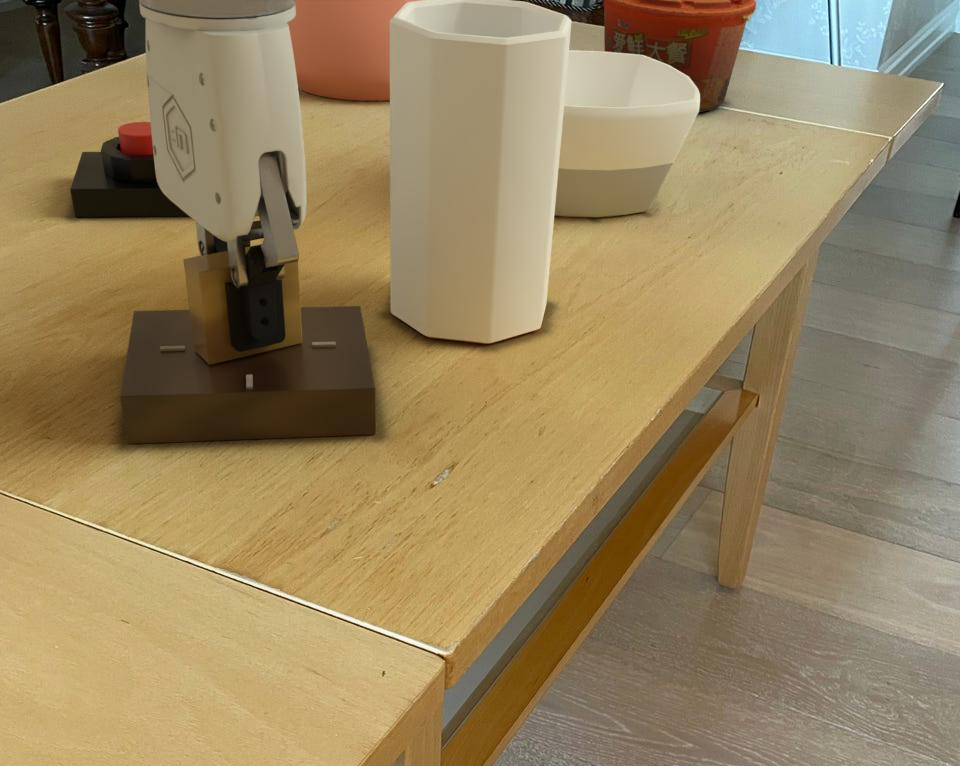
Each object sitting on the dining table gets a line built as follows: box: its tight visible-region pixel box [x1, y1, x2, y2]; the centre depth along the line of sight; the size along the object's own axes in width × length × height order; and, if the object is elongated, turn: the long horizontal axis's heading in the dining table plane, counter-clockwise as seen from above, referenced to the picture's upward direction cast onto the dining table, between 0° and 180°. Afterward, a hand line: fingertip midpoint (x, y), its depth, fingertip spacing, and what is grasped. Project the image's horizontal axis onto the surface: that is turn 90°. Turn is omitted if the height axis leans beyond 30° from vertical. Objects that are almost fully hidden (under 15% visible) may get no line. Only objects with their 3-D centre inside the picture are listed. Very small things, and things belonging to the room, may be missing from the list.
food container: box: [603, 0, 757, 113], centre depth 120 cm, size 16×16×11 cm
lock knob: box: [182, 244, 303, 365], centre depth 66 cm, size 6×2×6 cm, turn 124°
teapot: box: [287, 0, 422, 102], centre depth 119 cm, size 25×17×13 cm
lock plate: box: [119, 305, 377, 445], centre depth 69 cm, size 14×11×3 cm
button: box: [117, 121, 153, 155], centre depth 92 cm, size 4×4×2 cm
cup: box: [389, 0, 572, 345], centre depth 75 cm, size 11×11×18 cm
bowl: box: [554, 49, 700, 218], centre depth 97 cm, size 18×18×9 cm
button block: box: [69, 136, 190, 218], centre depth 93 cm, size 11×9×4 cm
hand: (247, 332), depth 68 cm, fingers closed on lock knob, 2 cm apart
